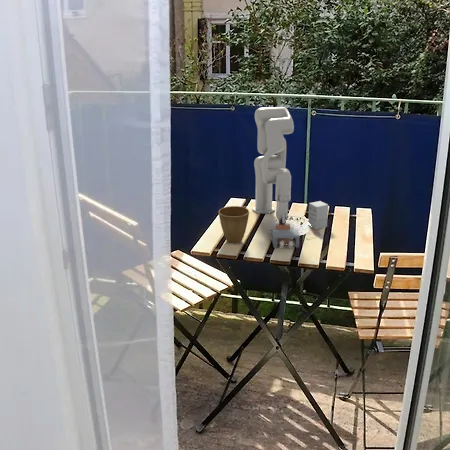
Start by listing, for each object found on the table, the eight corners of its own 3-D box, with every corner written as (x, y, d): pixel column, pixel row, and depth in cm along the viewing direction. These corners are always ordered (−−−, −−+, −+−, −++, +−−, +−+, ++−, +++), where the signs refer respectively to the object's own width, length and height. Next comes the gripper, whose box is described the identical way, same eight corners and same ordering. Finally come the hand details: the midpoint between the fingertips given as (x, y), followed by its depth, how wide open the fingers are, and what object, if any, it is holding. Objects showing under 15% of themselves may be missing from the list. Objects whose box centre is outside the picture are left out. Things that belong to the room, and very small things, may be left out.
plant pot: (221, 235, 287) (221, 205, 281) (250, 236, 284) (251, 206, 278) (216, 246, 273) (215, 215, 267) (246, 248, 270) (246, 216, 265)
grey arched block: (275, 236, 285) (275, 224, 283) (289, 236, 285) (289, 224, 283) (278, 245, 274) (278, 233, 272) (292, 245, 274) (292, 232, 272)
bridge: (270, 234, 287) (270, 222, 285) (293, 233, 288) (294, 222, 285) (273, 247, 271) (274, 235, 268) (299, 247, 271) (299, 235, 269)
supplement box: (319, 222, 302) (320, 200, 298) (327, 227, 296) (328, 204, 291) (307, 225, 299) (308, 202, 295) (315, 229, 293) (317, 206, 288)
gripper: (273, 192, 288) (273, 226, 294) (277, 201, 274) (276, 236, 280) (288, 192, 288) (287, 225, 295) (292, 201, 274) (291, 236, 281)
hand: (281, 231), depth 288 cm, fingers closed
